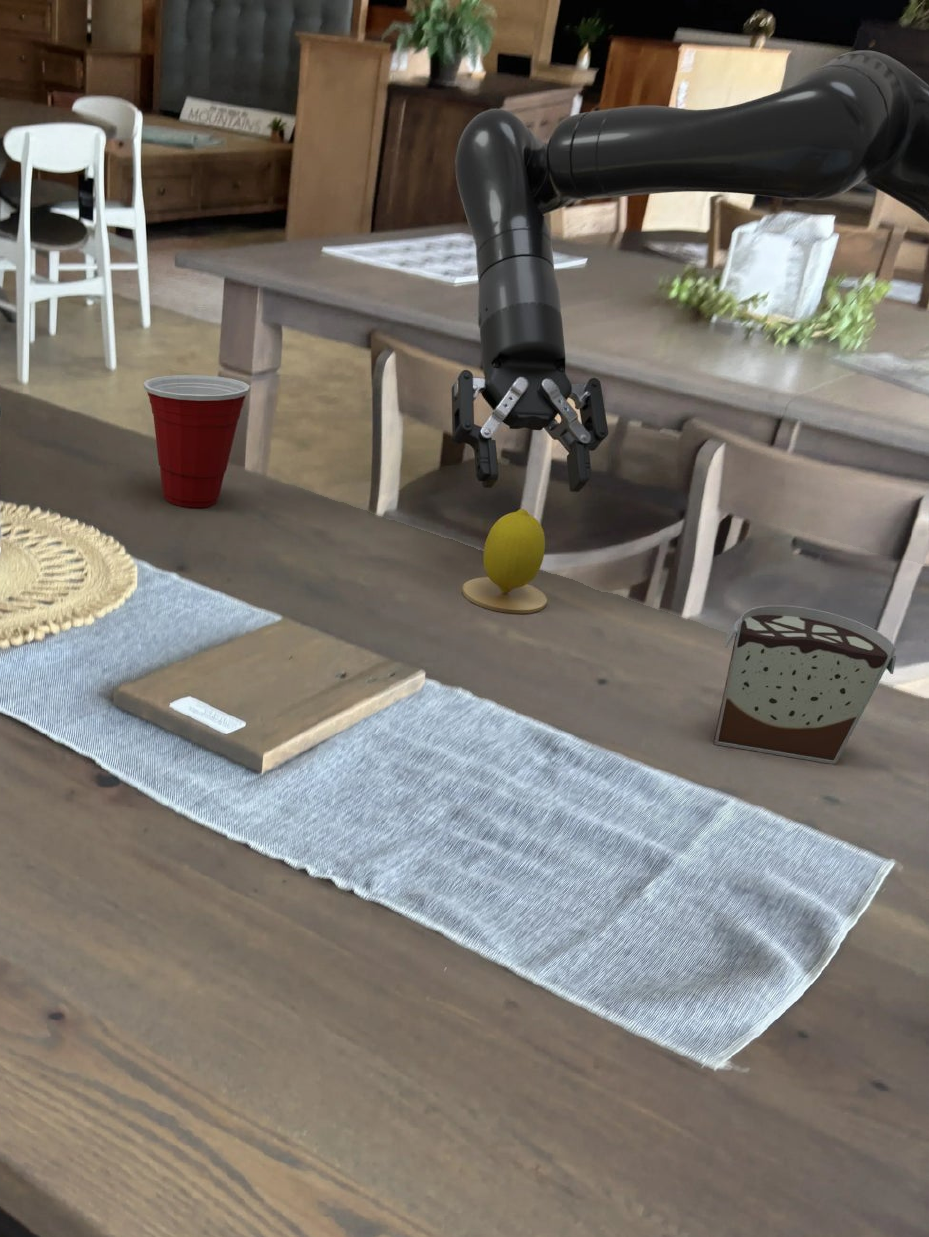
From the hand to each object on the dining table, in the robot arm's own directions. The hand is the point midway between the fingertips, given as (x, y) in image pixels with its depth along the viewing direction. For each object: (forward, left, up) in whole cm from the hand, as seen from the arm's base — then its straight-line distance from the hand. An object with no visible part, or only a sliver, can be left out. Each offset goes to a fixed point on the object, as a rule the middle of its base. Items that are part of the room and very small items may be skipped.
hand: (535, 486), depth 122 cm
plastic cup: (+28, -24, -11) cm, 38 cm away
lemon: (+1, +1, -10) cm, 10 cm away
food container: (-12, +29, -10) cm, 33 cm away
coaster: (+1, +1, -10) cm, 10 cm away
